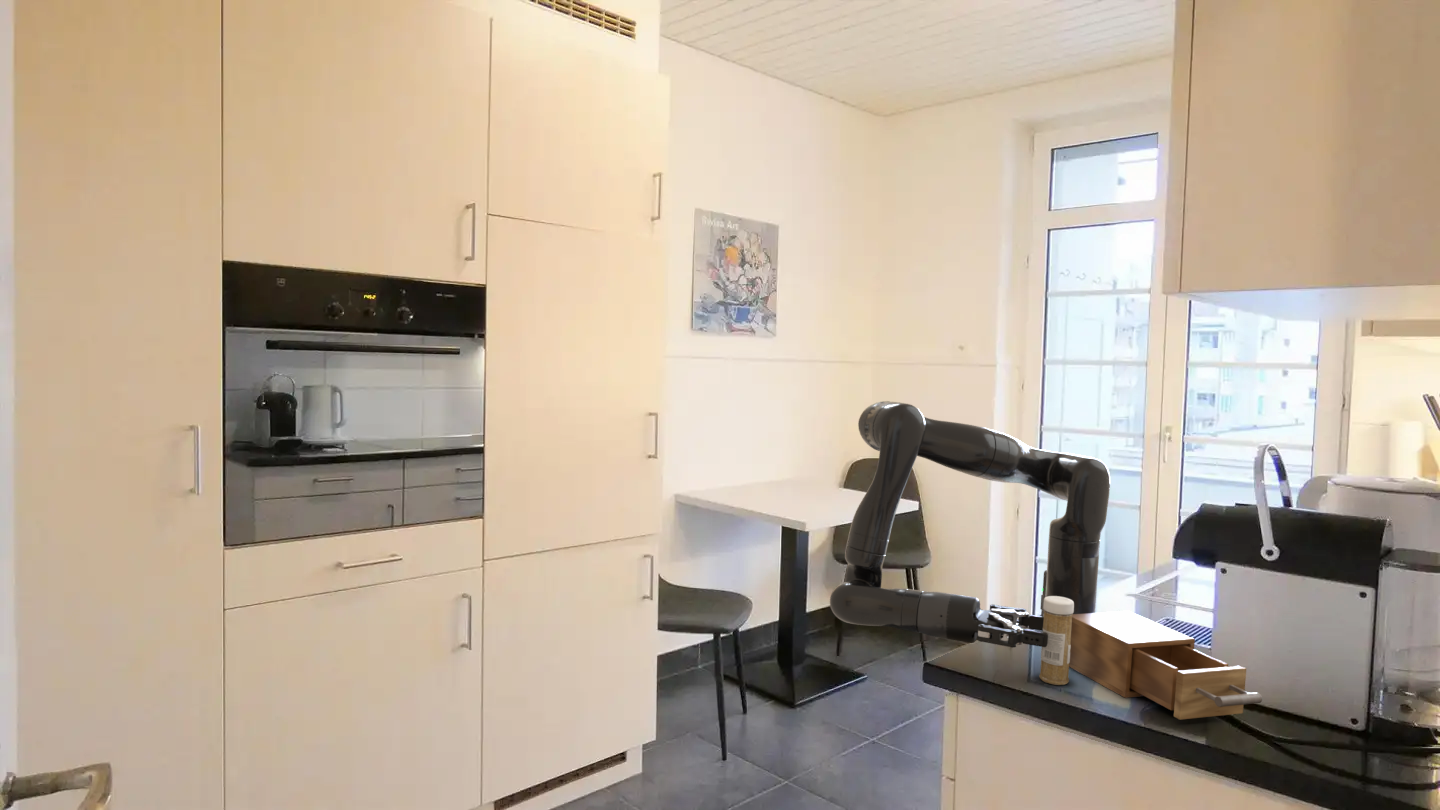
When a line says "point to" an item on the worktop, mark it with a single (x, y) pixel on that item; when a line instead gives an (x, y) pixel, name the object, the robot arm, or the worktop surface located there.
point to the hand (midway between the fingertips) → (1050, 632)
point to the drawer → (1189, 681)
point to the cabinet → (1115, 646)
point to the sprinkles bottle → (1056, 640)
